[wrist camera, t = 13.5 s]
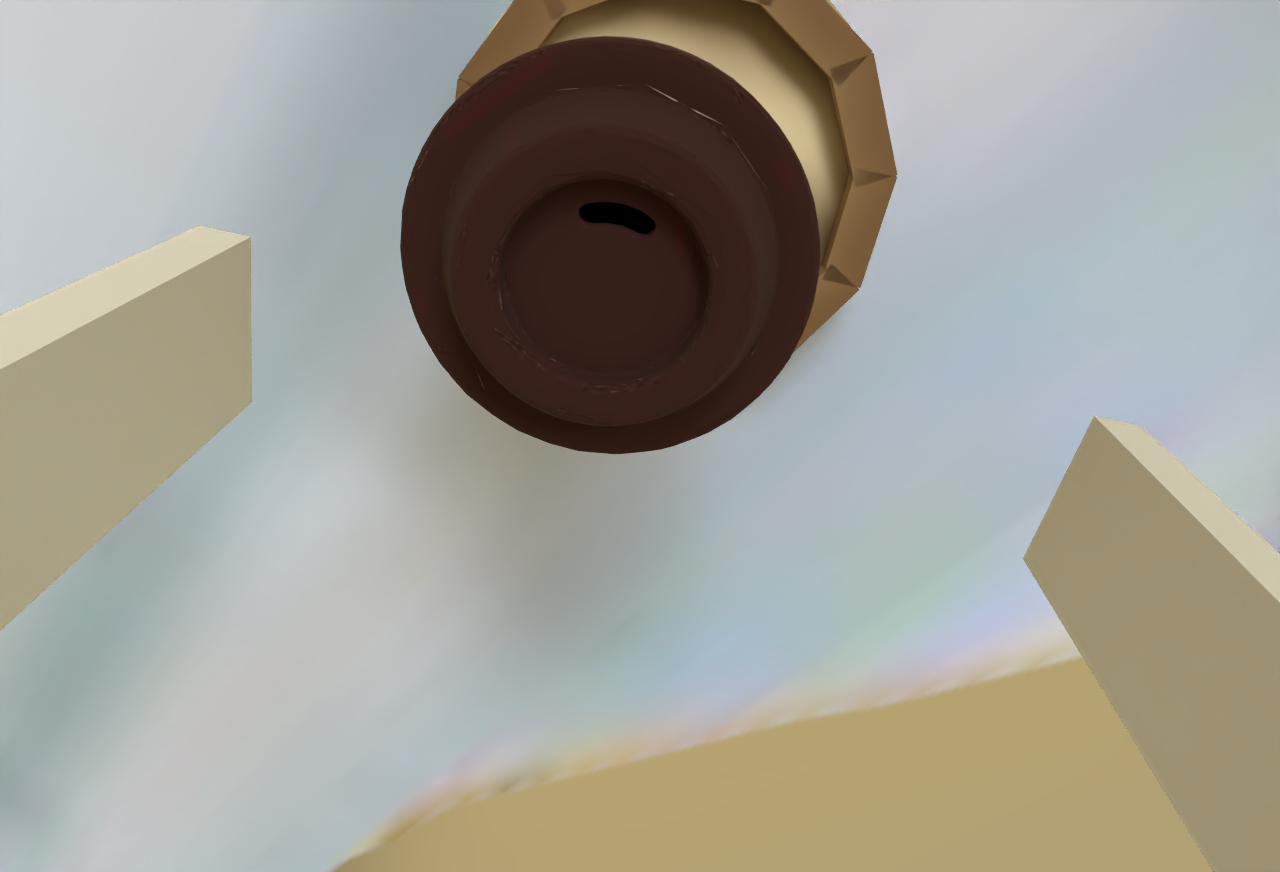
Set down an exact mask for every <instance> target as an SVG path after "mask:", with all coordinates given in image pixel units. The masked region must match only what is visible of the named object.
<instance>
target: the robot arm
mask: <svg viewBox="0 0 1280 872" xmlns="http://www.w3.org/2000/svg"><path fill="white" fill-rule="evenodd" d="M251 402H252V387H251V237H250V236H245V235H240V234H236V233H231V232H226V231H222V230H217V229H212V228H208V227H203V226H197V227H195V228H193V229H191V230H188V231H186V232H184V233H182V234H180V235H177V236H175V237H173V238H171V239H169V240H166V241H164V242H162V243H160V244H157V245H155V246H153V247H151V248H149V249H146V250H144V251H142V252H140V253H137V254H135V255H133V256H131V257H129V258H126V259H124V260H122V261H120V262H117V263H115V264H113V265H111V266H109V267H106V268H104V269H102V270H100V271H98V272H95V273H93V274H91V275H89V276H86V277H84V278H82V279H80V280H78V281H75V282H73V283H71V284H69V285H66V286H64V287H62V288H60V289H58V290H55V291H53V292H51V293H49V294H46V295H44V296H42V297H40V298H38V299H35V300H33V301H31V302H29V303H26V304H24V305H22V306H20V307H18V308H15V309H13V310H11V311H9V312H7V313H4V314H2V315H0V630H1V629H2V628H4V627H5V626H6V625H7V624H8V623H9V622H10V621H11V620H12V619H13V618H15V617H16V616H17V615H18V614H19V613H20V612H21V611H22V610H23V609H24V608H26V607H27V606H28V605H29V604H30V603H31V602H32V601H33V600H34V599H35V598H37V597H38V596H39V595H40V594H41V593H42V592H43V591H44V590H45V589H46V588H48V587H49V586H50V585H51V584H52V583H53V582H54V581H55V580H56V579H57V578H59V577H60V576H61V575H62V574H63V573H64V572H65V571H66V570H67V569H68V568H70V567H71V566H72V565H73V564H74V563H75V562H76V561H77V560H78V559H79V558H81V557H82V556H83V555H84V554H85V553H86V552H87V551H88V550H89V549H90V548H91V547H93V546H94V545H95V544H96V543H97V542H98V541H99V540H100V539H101V538H102V537H104V536H105V535H106V534H107V533H108V532H109V531H110V530H111V529H112V528H113V527H115V526H116V525H117V524H118V523H119V522H120V521H121V520H122V519H123V518H124V517H126V516H127V515H128V514H129V513H130V512H131V511H132V510H133V509H134V508H135V507H137V506H138V505H139V504H140V503H141V502H142V501H143V500H144V499H145V498H146V497H148V496H149V495H150V494H151V493H152V492H153V491H154V490H155V489H156V488H157V487H159V486H160V485H161V484H162V483H163V482H164V481H165V480H166V479H167V478H168V477H170V476H171V475H172V474H173V473H174V472H175V471H176V470H177V469H178V468H179V467H181V466H182V465H183V464H184V463H185V462H186V461H187V460H188V459H189V458H190V457H192V456H193V455H194V454H195V453H196V452H197V451H198V450H199V449H200V448H201V447H203V446H204V445H205V444H206V443H207V442H208V441H209V440H210V439H211V438H212V437H214V436H215V435H216V434H217V433H218V432H219V431H220V430H221V429H222V428H223V427H225V426H226V425H227V424H228V423H229V422H230V421H231V420H232V419H233V418H234V417H235V416H237V415H238V414H239V413H240V412H241V411H242V410H243V409H244V408H245V407H246V406H248V405H249V404H250V403H251ZM1023 560H1024V561H1025V563H1026V565H1027V566H1028V568H1029V570H1030V571H1031V573H1032V574H1033V576H1034V578H1035V579H1036V581H1037V583H1038V584H1039V586H1040V588H1041V589H1042V591H1043V593H1044V594H1045V596H1046V597H1047V599H1048V601H1049V602H1050V604H1051V606H1052V607H1053V609H1054V611H1055V612H1056V614H1057V616H1058V617H1059V619H1060V620H1061V622H1062V624H1063V625H1064V627H1065V629H1066V630H1067V632H1068V634H1069V635H1070V637H1071V639H1072V640H1073V642H1074V644H1075V645H1076V647H1077V648H1078V650H1079V652H1080V653H1081V655H1082V657H1083V658H1084V660H1085V662H1086V663H1087V665H1088V667H1089V668H1090V670H1091V671H1092V673H1093V675H1094V676H1095V678H1096V680H1097V681H1098V683H1099V685H1100V686H1101V688H1102V690H1103V691H1104V693H1105V694H1106V696H1107V698H1108V699H1109V701H1110V703H1111V704H1112V706H1113V707H1114V709H1115V711H1116V712H1117V714H1118V716H1119V718H1120V719H1121V721H1122V722H1123V724H1124V726H1125V727H1126V729H1127V731H1128V732H1129V734H1130V736H1131V737H1132V739H1133V741H1134V742H1135V744H1136V745H1137V747H1138V749H1139V750H1140V752H1141V754H1142V755H1143V757H1144V759H1145V760H1146V762H1147V764H1148V765H1149V767H1150V768H1151V770H1152V772H1153V773H1154V775H1155V777H1156V778H1157V780H1158V782H1159V783H1160V785H1161V787H1162V788H1163V790H1164V792H1165V793H1166V795H1167V796H1168V798H1169V800H1170V801H1171V803H1172V805H1173V806H1174V808H1175V810H1176V811H1177V813H1178V815H1179V816H1180V818H1181V819H1182V821H1183V823H1184V824H1185V826H1186V828H1187V829H1188V831H1189V833H1190V834H1191V836H1192V838H1193V839H1194V841H1195V842H1196V844H1197V846H1198V847H1199V849H1200V851H1201V852H1202V854H1203V856H1204V857H1205V859H1206V861H1207V862H1208V864H1209V866H1210V867H1211V869H1212V870H1213V872H1280V554H1279V553H1278V552H1277V551H1276V550H1275V549H1274V548H1273V547H1271V546H1270V545H1269V544H1268V543H1267V542H1266V541H1265V540H1264V539H1263V538H1262V537H1261V536H1260V535H1258V534H1257V533H1256V532H1255V531H1254V530H1253V529H1252V528H1251V527H1250V526H1249V525H1248V524H1247V523H1245V522H1244V521H1243V520H1242V519H1241V518H1240V517H1239V516H1238V515H1237V514H1236V513H1235V512H1234V511H1232V510H1231V509H1230V508H1229V507H1228V506H1227V505H1226V504H1225V503H1224V502H1223V501H1222V500H1221V499H1220V498H1218V497H1217V496H1216V495H1215V494H1214V493H1213V492H1212V491H1211V490H1210V489H1209V488H1208V487H1207V486H1205V485H1204V484H1203V483H1202V482H1201V481H1200V480H1199V479H1198V478H1197V477H1196V476H1195V475H1194V474H1192V473H1191V472H1190V471H1189V470H1188V469H1187V468H1186V467H1185V466H1184V465H1183V464H1182V463H1181V462H1179V461H1178V460H1177V459H1176V458H1175V457H1174V456H1173V455H1172V454H1171V453H1170V452H1169V451H1168V450H1167V449H1165V448H1164V447H1163V446H1162V445H1161V444H1160V443H1159V442H1158V441H1157V440H1156V439H1155V438H1154V437H1152V436H1151V435H1150V434H1149V433H1148V432H1147V431H1146V430H1145V429H1144V428H1143V427H1142V426H1139V425H1134V424H1129V423H1125V422H1120V421H1115V420H1110V419H1106V418H1101V417H1096V416H1094V418H1093V420H1092V422H1091V424H1090V426H1089V428H1088V430H1087V432H1086V434H1085V436H1084V438H1083V440H1082V442H1081V444H1080V446H1079V448H1078V450H1077V452H1076V454H1075V456H1074V458H1073V460H1072V462H1071V464H1070V466H1069V468H1068V470H1067V472H1066V474H1065V476H1064V478H1063V480H1062V482H1061V484H1060V486H1059V488H1058V490H1057V492H1056V494H1055V496H1054V498H1053V500H1052V502H1051V504H1050V506H1049V508H1048V510H1047V512H1046V514H1045V516H1044V518H1043V520H1042V522H1041V524H1040V526H1039V528H1038V530H1037V532H1036V534H1035V536H1034V538H1033V540H1032V542H1031V544H1030V546H1029V548H1028V550H1027V552H1026V554H1025V556H1024V558H1023Z"/></svg>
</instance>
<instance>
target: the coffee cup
mask: <svg viewBox="0 0 1280 872" xmlns="http://www.w3.org/2000/svg"><path fill="white" fill-rule="evenodd" d="M400 249H401V259H402V268H403V274H404V280H405V285H406V290H407V293H408V296H409V299H410V303H411V306H412V309H413V312H414V315H415V318H416V320H417V322H418V325H419V327H420V329H421V331H422V333H423V335H424V337H425V339H426V340H427V342H428V344H429V346H430V347H431V349H432V351H433V353H434V354H435V356H436V357H437V359H438V360H439V362H440V364H441V365H442V366H443V367H444V368H445V370H446V371H447V372H448V373H449V374H450V376H451V377H452V378H453V379H454V380H455V382H456V383H457V384H458V385H459V386H460V387H461V388H462V389H463V391H464V392H465V393H466V394H467V395H468V396H470V397H471V398H472V399H473V400H475V401H476V402H477V403H478V404H480V405H481V406H482V407H483V408H485V409H486V410H487V411H489V412H490V413H491V414H493V415H494V416H496V417H497V418H499V419H500V420H502V421H503V422H505V423H507V424H508V425H510V426H511V427H513V428H515V429H516V430H518V431H521V432H523V433H525V434H528V435H530V436H533V437H535V438H538V439H540V440H543V441H545V442H548V443H551V444H554V445H558V446H562V447H566V448H569V449H573V450H577V451H585V452H596V453H608V454H625V453H635V452H645V451H653V450H659V449H664V448H668V447H671V446H675V445H678V444H680V443H683V442H686V441H688V440H691V439H694V438H696V437H699V436H701V435H703V434H706V433H708V432H710V431H712V430H714V429H715V428H717V427H719V426H720V425H722V424H724V423H726V422H727V421H729V420H731V419H732V418H734V417H735V416H736V415H737V414H739V413H740V412H741V411H742V410H743V409H745V408H746V407H747V406H748V405H749V404H751V403H752V402H753V401H754V400H755V399H756V398H758V397H759V396H760V395H761V394H762V392H763V391H764V390H765V389H766V388H767V387H768V386H769V385H770V384H771V383H772V382H773V380H774V379H775V378H776V377H777V375H778V374H779V373H780V372H781V370H782V369H783V367H784V366H785V365H786V363H787V362H788V360H789V359H790V357H791V355H792V353H793V351H794V350H795V348H796V346H797V344H798V342H799V340H800V338H801V336H802V334H803V332H804V329H805V326H806V324H807V321H808V319H809V316H810V313H811V310H812V306H813V303H814V299H815V294H816V288H817V283H818V278H819V268H820V235H819V226H818V219H817V213H816V207H815V202H814V198H813V195H812V192H811V188H810V185H809V182H808V179H807V177H806V174H805V172H804V169H803V167H802V164H801V162H800V160H799V158H798V156H797V154H796V153H795V151H794V149H793V147H792V145H791V143H790V142H789V140H788V139H787V137H786V136H785V134H784V133H783V131H782V130H781V128H780V127H779V125H778V124H777V123H776V122H775V120H774V119H773V118H772V117H771V115H770V114H769V113H768V112H767V111H766V109H765V108H764V107H763V106H762V105H761V104H760V103H759V102H758V101H757V100H756V98H755V97H754V96H753V95H752V94H750V93H749V92H748V91H747V90H746V89H745V88H744V87H742V86H741V85H740V84H739V83H738V82H737V81H736V80H735V79H733V78H732V77H731V76H729V75H727V74H726V73H724V72H723V71H721V70H720V69H718V68H717V67H715V66H714V65H712V64H711V63H709V62H707V61H705V60H703V59H701V58H699V57H697V56H695V55H693V54H691V53H689V52H686V51H683V50H681V49H678V48H675V47H673V46H670V45H666V44H662V43H658V42H655V41H651V40H646V39H639V38H632V37H619V36H597V37H585V38H578V39H571V40H567V41H563V42H559V43H554V44H551V45H547V46H544V47H541V48H537V49H534V50H532V51H529V52H527V53H525V54H522V55H520V56H517V57H515V58H513V59H511V60H510V61H508V62H506V63H504V64H502V65H500V66H499V67H497V68H496V69H494V70H493V71H491V72H489V73H488V74H486V75H485V76H483V77H482V78H480V79H479V80H478V81H477V82H476V83H475V84H473V85H472V86H471V87H470V88H469V89H468V90H467V91H466V92H464V93H463V94H462V95H461V96H460V97H459V98H458V99H457V100H456V101H455V102H454V103H453V105H452V106H451V107H450V108H449V109H448V110H447V111H446V112H445V114H444V115H443V116H442V118H441V119H440V120H439V122H438V123H437V125H436V126H435V127H434V129H433V130H432V132H431V134H430V135H429V137H428V139H427V141H426V142H425V144H424V146H423V147H422V150H421V152H420V154H419V156H418V159H417V161H416V163H415V166H414V168H413V171H412V174H411V177H410V180H409V183H408V186H407V190H406V194H405V199H404V204H403V209H402V226H401V245H400Z"/></svg>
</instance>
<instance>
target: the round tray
mask: <svg viewBox="0 0 1280 872" xmlns="http://www.w3.org/2000/svg"><path fill="white" fill-rule="evenodd" d="M597 36H619V37H632V38H639V39H646V40H651V41H655V42H658V43H662V44H666V45H670V46H673V47H675V48H678V49H681V50H683V51H686V52H689V53H691V54H693V55H695V56H697V57H699V58H701V59H703V60H705V61H707V62H709V63H711V64H712V65H714V66H715V67H717V68H718V69H720V70H721V71H723V72H724V73H726V74H727V75H729V76H731V77H732V78H733V79H735V80H736V81H737V82H738V83H739V84H740V85H741V86H742V87H744V88H745V89H746V90H747V91H748V92H749V93H750V94H752V95H753V96H754V97H755V98H756V100H757V101H758V102H759V103H760V104H761V105H762V106H763V107H764V108H765V109H766V111H767V112H768V113H769V114H770V115H771V117H772V118H773V119H774V120H775V122H776V123H777V124H778V125H779V127H780V128H781V130H782V131H783V133H784V134H785V136H786V137H787V139H788V140H789V142H790V143H791V145H792V147H793V149H794V151H795V153H796V154H797V156H798V158H799V160H800V162H801V164H802V167H803V169H804V172H805V174H806V177H807V179H808V182H809V185H810V188H811V192H812V195H813V198H814V202H815V207H816V213H817V219H818V226H819V235H820V268H819V278H818V283H817V288H816V294H815V299H814V303H813V306H812V310H811V313H810V316H809V319H808V321H807V324H806V326H805V329H804V332H803V334H802V336H801V338H800V340H799V342H798V344H797V346H796V348H795V350H796V349H797V348H798V347H799V346H801V345H802V344H803V343H804V342H805V341H806V340H807V339H808V338H809V337H810V336H811V335H812V334H813V333H814V332H815V331H816V330H817V329H818V328H819V327H820V326H822V325H823V324H824V323H825V322H826V321H827V320H828V319H829V318H830V317H831V316H832V315H833V314H834V313H835V312H836V311H837V310H838V309H839V308H840V307H841V306H843V305H844V304H845V303H846V302H847V301H848V300H849V299H850V298H851V297H852V296H853V295H854V294H855V293H856V292H857V291H858V290H859V289H858V288H860V287H861V284H862V281H863V278H864V275H865V272H866V269H867V266H868V263H869V260H870V257H871V254H872V251H873V248H874V245H875V242H876V239H877V236H878V233H879V230H880V227H881V224H882V221H883V218H884V215H885V212H886V209H887V206H888V203H889V200H890V197H891V194H892V191H893V188H894V185H895V182H896V178H897V177H896V176H895V175H897V171H896V166H895V161H894V156H893V151H892V146H891V141H890V136H889V130H888V125H887V120H886V114H885V109H884V105H883V100H882V95H881V89H880V84H879V79H878V74H877V69H876V64H875V59H874V54H873V53H871V52H872V50H871V49H870V48H869V47H868V46H867V45H866V44H865V43H864V42H863V41H862V39H861V38H860V37H859V36H858V35H857V34H856V33H855V32H854V31H853V30H852V29H851V27H850V26H849V24H848V23H847V22H846V21H845V19H844V18H843V17H842V16H841V14H840V13H839V12H838V11H837V9H836V8H835V7H834V6H833V4H832V3H831V2H830V1H829V0H514V1H513V2H512V4H511V5H510V6H509V7H508V8H507V10H506V11H505V12H504V13H503V14H502V16H501V17H500V18H499V19H498V20H497V22H496V23H495V24H494V26H493V28H492V29H491V31H490V32H489V34H488V36H487V37H486V39H485V40H484V42H483V44H482V45H481V47H480V48H479V49H478V51H477V52H476V53H475V55H474V56H473V58H472V59H471V60H470V62H469V63H468V64H467V66H466V67H465V69H464V70H463V71H462V73H461V74H460V75H459V79H458V81H457V91H456V100H457V99H458V98H459V97H460V96H461V95H462V94H463V93H464V92H466V91H467V90H468V89H469V88H470V87H471V86H472V85H473V84H475V83H476V82H477V81H478V80H479V79H480V78H482V77H483V76H485V75H486V74H488V73H489V72H491V71H493V70H494V69H496V68H497V67H499V66H500V65H502V64H504V63H506V62H508V61H510V60H511V59H513V58H515V57H517V56H520V55H522V54H525V53H527V52H529V51H532V50H534V49H537V48H541V47H544V46H547V45H551V44H554V43H559V42H563V41H567V40H571V39H578V38H585V37H597ZM456 100H455V101H456ZM857 287H858V288H857ZM795 350H794V351H795ZM794 351H793V352H794Z"/></svg>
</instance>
